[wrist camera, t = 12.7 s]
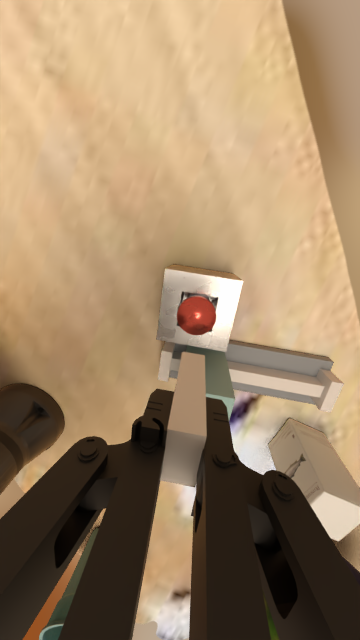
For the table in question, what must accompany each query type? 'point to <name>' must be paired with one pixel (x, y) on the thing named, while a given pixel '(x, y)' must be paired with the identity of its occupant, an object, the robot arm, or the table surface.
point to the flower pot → (67, 596)
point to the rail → (270, 362)
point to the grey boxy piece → (204, 282)
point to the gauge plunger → (196, 314)
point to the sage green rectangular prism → (216, 376)
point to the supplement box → (318, 476)
